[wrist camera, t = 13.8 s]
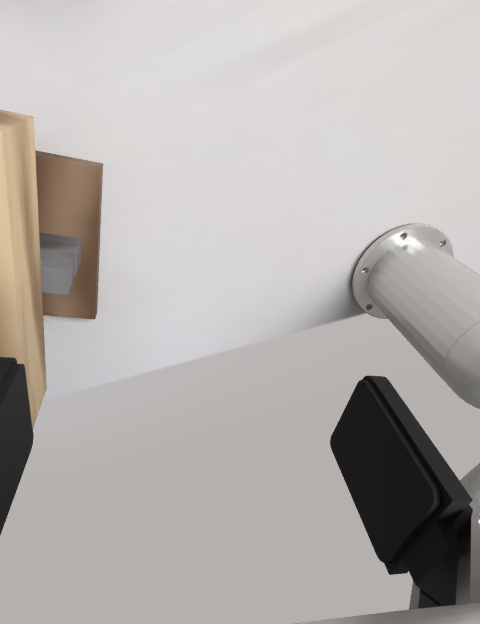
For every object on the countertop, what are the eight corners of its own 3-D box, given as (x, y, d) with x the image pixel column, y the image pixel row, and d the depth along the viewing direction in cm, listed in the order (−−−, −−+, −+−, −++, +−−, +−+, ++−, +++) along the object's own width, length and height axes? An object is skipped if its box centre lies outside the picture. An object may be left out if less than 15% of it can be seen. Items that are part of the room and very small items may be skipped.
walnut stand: (102, 163, 33) (89, 188, 27) (96, 311, 41) (85, 358, 35) (-55, 133, 30) (-114, 152, 23) (-28, 300, 38) (-66, 349, 32)
